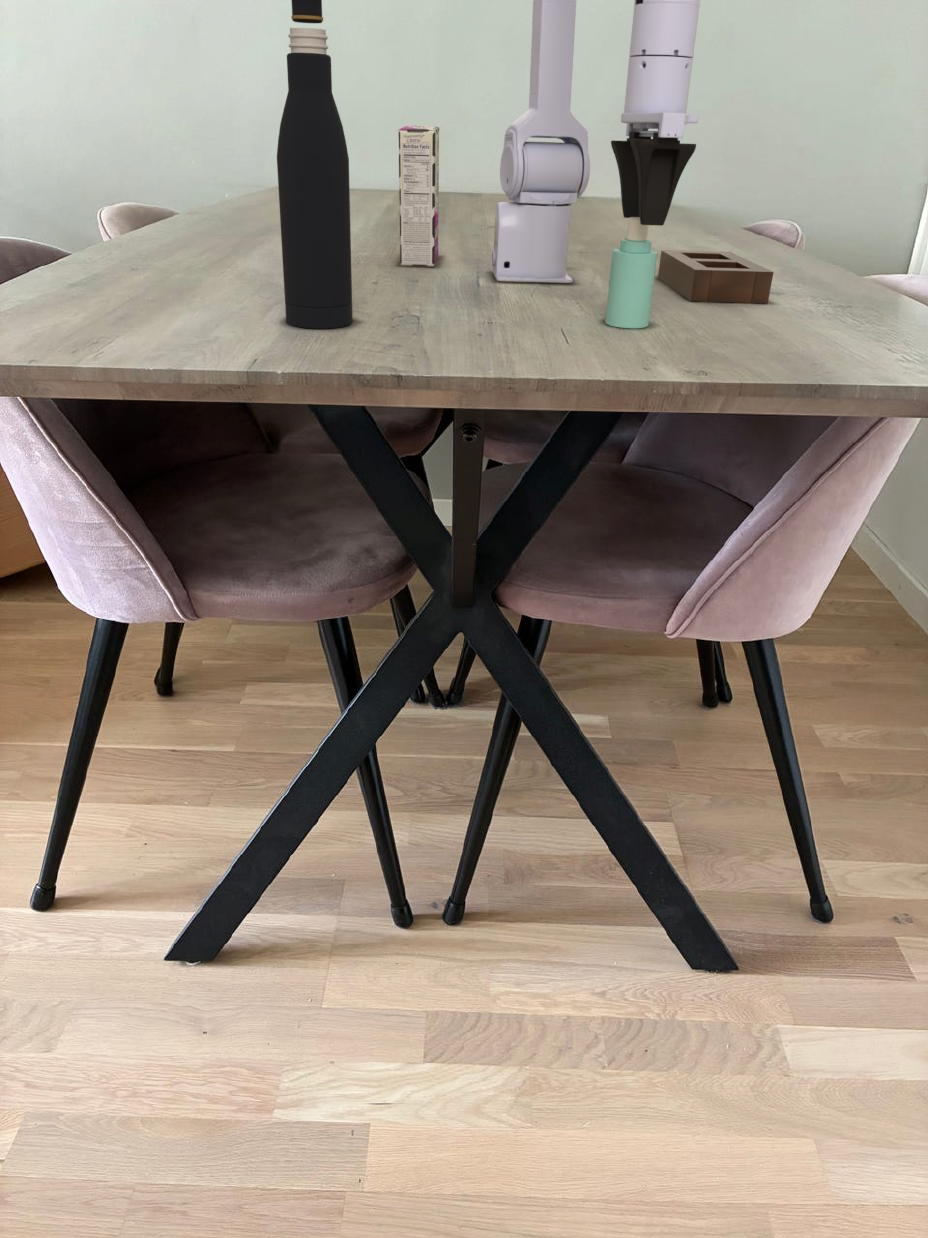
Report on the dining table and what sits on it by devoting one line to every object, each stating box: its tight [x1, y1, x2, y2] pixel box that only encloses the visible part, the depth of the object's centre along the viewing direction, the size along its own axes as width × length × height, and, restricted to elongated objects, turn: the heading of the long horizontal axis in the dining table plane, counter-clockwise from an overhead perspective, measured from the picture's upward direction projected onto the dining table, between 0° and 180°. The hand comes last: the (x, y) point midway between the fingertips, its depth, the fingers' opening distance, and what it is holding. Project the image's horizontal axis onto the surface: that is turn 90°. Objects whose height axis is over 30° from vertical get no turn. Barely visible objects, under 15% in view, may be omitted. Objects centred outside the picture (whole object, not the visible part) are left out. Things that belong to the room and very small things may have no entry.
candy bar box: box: [397, 125, 440, 268], centre depth 123 cm, size 11×5×16 cm, turn 179°
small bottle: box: [604, 217, 658, 329], centre depth 92 cm, size 4×4×10 cm
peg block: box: [657, 249, 774, 304], centre depth 114 cm, size 9×16×4 cm, turn 3°
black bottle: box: [276, 0, 353, 330], centre depth 82 cm, size 6×6×30 cm
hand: (642, 221), depth 90 cm, fingers open, 7 cm apart
